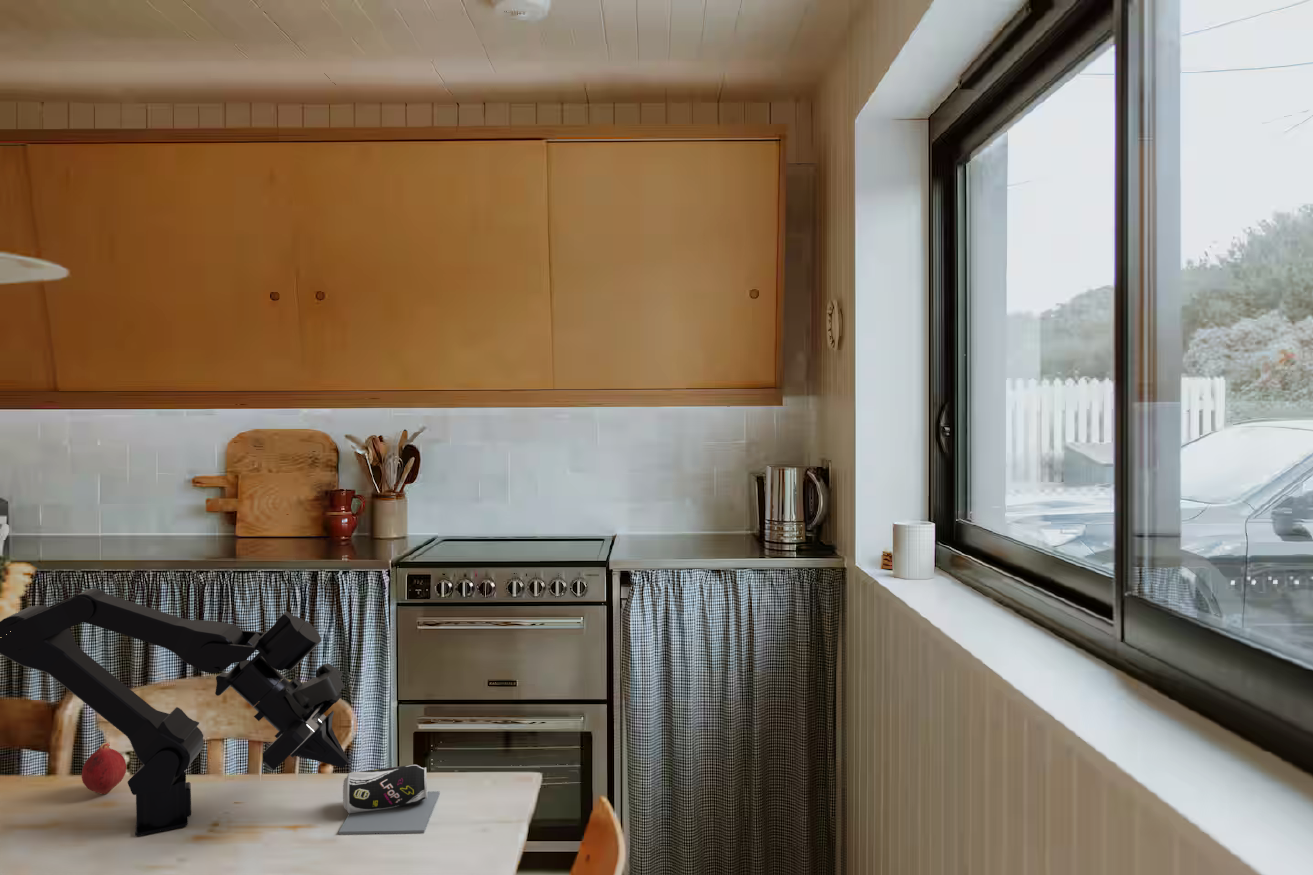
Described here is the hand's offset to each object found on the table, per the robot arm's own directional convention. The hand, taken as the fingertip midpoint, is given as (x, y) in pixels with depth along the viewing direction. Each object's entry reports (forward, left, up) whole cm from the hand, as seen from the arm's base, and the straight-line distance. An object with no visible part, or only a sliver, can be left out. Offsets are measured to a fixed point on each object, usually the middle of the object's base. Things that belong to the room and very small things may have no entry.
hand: (345, 764), depth 129 cm
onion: (-32, +23, -8) cm, 40 cm away
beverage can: (0, +1, -5) cm, 5 cm away
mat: (+6, -3, -8) cm, 10 cm away
